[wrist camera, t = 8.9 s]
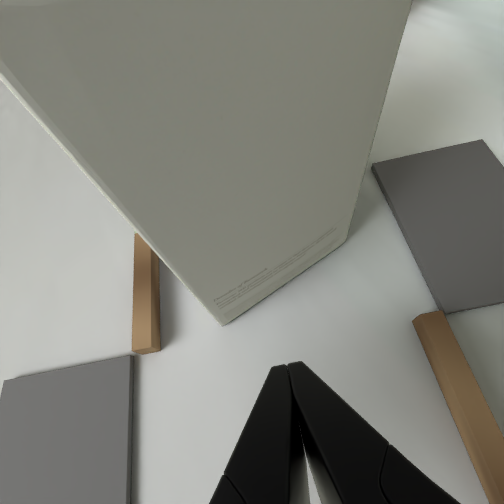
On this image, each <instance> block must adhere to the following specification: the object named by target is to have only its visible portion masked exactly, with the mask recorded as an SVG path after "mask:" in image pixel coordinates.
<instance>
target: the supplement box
mask: <svg viewBox="0 0 504 504" xmlns="http://www.w3.org/2000/svg"><path fill="white" fill-rule="evenodd" d="M412 1H413V0H0V80H1V81H2V82H3V83H4V84H5V85H6V86H7V88H8V89H9V90H10V91H11V92H12V93H13V94H14V95H15V97H16V98H17V99H18V100H19V101H20V102H21V103H22V104H23V105H24V107H25V108H26V109H27V110H28V111H29V112H30V113H31V114H32V116H33V117H34V118H35V119H36V120H37V121H38V122H39V123H40V124H41V126H42V127H43V128H44V129H45V130H46V131H47V132H48V133H49V135H50V136H51V137H52V138H53V139H54V140H55V141H56V142H57V144H58V145H59V146H60V147H61V148H62V149H63V150H64V151H65V152H66V154H67V155H68V156H69V157H70V158H71V159H72V160H73V161H74V163H75V164H76V165H77V166H78V167H79V168H80V169H81V170H82V171H83V173H84V174H85V175H86V176H87V177H88V178H89V179H90V180H91V182H92V183H93V184H94V185H95V186H96V187H97V188H98V189H99V190H100V192H101V193H102V194H103V195H104V196H105V197H106V198H107V199H108V201H109V202H110V203H111V204H112V205H113V206H114V207H115V208H116V210H117V211H118V212H119V213H120V214H121V215H122V216H123V217H124V218H125V220H126V221H127V222H128V223H129V224H130V225H131V226H132V227H133V228H134V230H135V231H136V232H137V233H138V234H139V235H140V236H141V237H142V239H143V240H144V241H145V242H146V243H147V244H148V245H149V246H150V247H151V249H152V250H153V251H154V252H155V253H156V254H157V255H158V256H159V257H160V259H161V260H162V261H163V262H164V263H165V264H166V265H167V266H168V268H169V269H170V270H171V271H172V272H173V273H174V274H175V275H176V276H177V278H178V279H179V280H180V281H181V282H182V283H183V284H184V285H185V286H186V288H187V289H188V290H189V291H190V292H191V293H192V294H193V295H194V297H195V298H196V299H197V300H198V301H199V302H200V303H201V304H202V306H203V307H204V308H205V309H206V310H207V311H208V312H209V313H210V314H211V315H212V317H213V318H214V319H215V320H216V321H217V322H218V323H219V325H221V326H224V325H226V324H227V323H229V322H230V321H232V320H233V319H235V318H236V317H238V316H239V315H240V314H242V313H243V312H245V311H246V310H248V309H249V308H251V307H252V306H253V305H255V304H256V303H258V302H259V301H261V300H262V299H264V298H265V297H266V296H268V295H269V294H271V293H272V292H274V291H275V290H277V289H278V288H280V287H281V286H282V285H284V284H285V283H287V282H288V281H290V280H291V279H293V278H294V277H296V276H297V275H299V274H300V273H301V272H303V271H304V270H306V269H307V268H309V267H310V266H312V265H313V264H315V263H316V262H317V261H319V260H320V259H322V258H323V257H325V256H326V255H328V254H329V253H331V252H332V251H333V250H335V249H336V248H337V247H339V246H340V245H341V244H343V243H344V242H345V241H346V238H347V234H348V231H349V227H350V223H351V220H352V216H353V213H354V209H355V205H356V201H357V198H358V194H359V191H360V187H361V183H362V180H363V176H364V172H365V169H366V165H367V161H368V158H369V154H370V151H371V147H372V143H373V140H374V136H375V133H376V129H377V125H378V122H379V118H380V114H381V111H382V107H383V104H384V100H385V96H386V93H387V89H388V86H389V82H390V78H391V75H392V71H393V68H394V64H395V60H396V57H397V53H398V50H399V46H400V42H401V39H402V35H403V32H404V29H405V25H406V22H407V18H408V15H409V11H410V8H411V4H412Z"/></svg>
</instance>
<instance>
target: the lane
mask: <svg viewBox="0 0 504 504" xmlns="http://www.w3.org/2000/svg"><path fill="white" fill-rule="evenodd" d="M412 323H413V325H414V327H415V330H416V332H417V334H418V337H419V339H420V341H421V344H422V346H423V348H424V351H425V353H426V355H427V358H428V360H429V362H430V365H431V367H432V369H433V372H434V374H435V376H436V379H437V381H438V384H439V386H440V388H441V391H442V393H443V395H444V398H445V400H446V402H447V405H448V407H449V409H450V412H451V414H452V416H453V419H454V421H455V423H456V426H457V428H458V430H459V433H460V435H461V437H462V440H463V442H464V444H465V447H466V449H467V451H468V454H469V456H470V458H471V461H472V463H473V466H474V468H475V470H476V473H477V475H478V477H479V480H480V482H481V484H482V487H483V489H484V491H485V494H486V496H487V498H488V501H489V503H490V504H504V437H503V435H502V433H501V431H500V429H499V427H498V425H497V423H496V421H495V419H494V416H493V414H492V412H491V410H490V408H489V406H488V404H487V402H486V400H485V398H484V396H483V394H482V392H481V390H480V388H479V385H478V383H477V381H476V379H475V377H474V375H473V373H472V371H471V369H470V367H469V365H468V363H467V361H466V359H465V357H464V354H463V352H462V350H461V348H460V346H459V344H458V342H457V340H456V338H455V336H454V334H453V332H452V330H451V328H450V326H449V324H448V321H447V319H446V317H445V315H444V313H443V311H442V310H440V311H435V312H430V313H425V314H420V315H419V316H418V317H416V318H415V319H414V320H413V321H412ZM132 351H134V352H136V353H139V354H142V355H143V354H148V353H153V352H158V351H161V343H160V291H159V256H158V255H157V254H156V253H155V252H154V251H153V250H152V249H151V247H150V246H149V245H148V244H147V243H146V242H145V241H144V240H143V239H142V237H141V236H140V235H139V234H138V233H137V232H136V231H135V241H134V281H133V320H132Z"/></svg>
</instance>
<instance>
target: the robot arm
mask: <svg viewBox="0 0 504 504" xmlns="http://www.w3.org/2000/svg"><path fill="white" fill-rule="evenodd" d="M287 368H288V369H287ZM299 425H300V426H299ZM300 430H301V431H300ZM301 435H302V436H301ZM302 439H303V440H302ZM303 444H304V445H303ZM304 448H305V451H304ZM305 453H306V457H307V460H308V463H309V467H310V470H311V473H312V476H313V479H314V482H315V485H316V488H317V491H318V494H319V497H320V500H321V503H322V504H461V503H459V502H458V501H457V500H456V499H454V498H453V497H452V496H450V495H449V494H448V493H447V492H445V491H444V490H443V489H442V488H440V487H439V486H438V485H437V484H435V483H434V482H433V481H432V480H430V479H429V478H428V477H427V476H426V475H425V474H424V473H422V472H421V471H420V470H419V469H418V468H417V467H416V466H414V465H413V464H412V463H411V462H410V461H409V460H408V459H406V458H405V457H404V456H403V455H402V454H401V453H400V452H399V451H398V450H397V449H396V448H395V447H394V446H393V445H391V444H390V445H389V442H388V441H387V440H386V439H385V438H384V437H383V436H382V435H381V434H379V433H378V432H377V431H376V430H375V429H374V428H373V427H372V426H371V425H370V424H369V423H368V422H367V421H366V420H364V419H363V418H362V417H361V416H360V415H359V414H358V413H357V412H356V411H355V410H354V409H353V408H352V407H350V406H349V405H348V404H347V403H346V402H345V401H344V400H343V399H342V398H341V397H340V396H339V395H338V394H337V393H335V392H334V391H333V390H332V389H331V388H330V387H329V386H328V385H327V384H326V383H325V382H324V381H323V380H321V379H320V378H319V377H318V376H317V375H316V374H315V373H314V372H313V371H312V370H311V369H310V368H309V367H308V366H306V365H305V364H304V363H303V362H302V361H298V362H293V363H289V364H288V365H287V366H286V365H285V364H283V365H278V366H273V367H272V368H271V369H270V372H269V374H268V376H267V378H266V380H265V383H264V385H263V387H262V389H261V391H260V394H259V396H258V398H257V400H256V402H255V405H254V407H253V409H252V411H251V413H250V416H249V418H248V420H247V422H246V424H245V427H244V429H243V431H242V433H241V435H240V438H239V440H238V442H237V444H236V446H235V449H234V451H233V453H232V455H231V457H230V460H229V462H228V464H227V466H226V468H225V471H224V475H222V477H221V479H220V481H219V483H218V486H217V488H216V490H215V492H214V494H213V496H212V499H211V501H210V503H209V504H310V497H309V486H308V475H307V465H306V457H305Z"/></svg>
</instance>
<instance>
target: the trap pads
mask: <svg viewBox="0 0 504 504" xmlns="http://www.w3.org/2000/svg"><path fill="white" fill-rule="evenodd" d="M371 168H372V170H373V173H374V175H375V177H376V179H377V181H378V183H379V185H380V187H381V189H382V191H383V193H384V195H385V198H386V200H387V202H388V204H389V206H390V208H391V210H392V212H393V214H394V216H395V218H396V220H397V222H398V225H399V227H400V229H401V231H402V233H403V235H404V237H405V239H406V241H407V243H408V245H409V247H410V250H411V252H412V254H413V256H414V258H415V260H416V262H417V264H418V266H419V268H420V270H421V272H422V275H423V277H424V279H425V281H426V283H427V285H428V287H429V289H430V291H431V293H432V295H433V297H434V300H435V302H436V304H437V306H438V308H439V310H442V311H443V313H444V315H445V314H450V313H455V312H460V311H465V310H470V309H475V308H480V307H485V306H490V305H495V304H500V303H504V167H503V166H502V164H501V163H500V162H499V160H498V159H497V158H496V157H495V155H494V154H493V153H492V151H491V150H490V149H489V147H488V146H487V145H486V143H485V142H484V141H483V140H482V139H481V140H477V141H472V142H468V143H463V144H459V145H454V146H450V147H445V148H441V149H436V150H432V151H427V152H423V153H418V154H414V155H409V156H404V157H400V158H395V159H391V160H386V161H382V162H377V163H373V164H372V167H371ZM133 363H134V356H131V355H129V356H124V357H119V358H114V359H109V360H104V361H99V362H94V363H89V364H84V365H79V366H74V367H69V368H64V369H59V370H54V371H49V372H44V373H39V374H34V375H29V376H25V377H20V378H15V379H10V380H5V381H4V383H3V388H2V392H1V397H0V504H130V498H131V453H132V408H133Z"/></svg>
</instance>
